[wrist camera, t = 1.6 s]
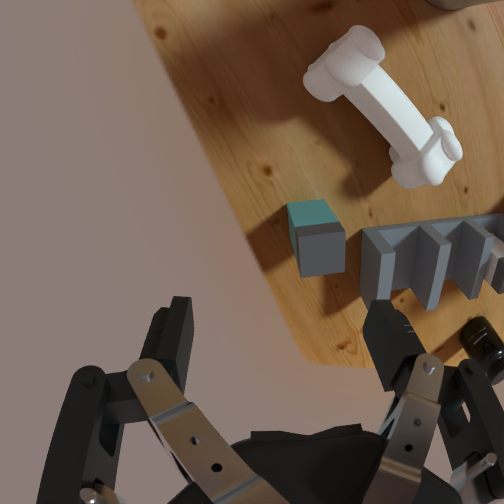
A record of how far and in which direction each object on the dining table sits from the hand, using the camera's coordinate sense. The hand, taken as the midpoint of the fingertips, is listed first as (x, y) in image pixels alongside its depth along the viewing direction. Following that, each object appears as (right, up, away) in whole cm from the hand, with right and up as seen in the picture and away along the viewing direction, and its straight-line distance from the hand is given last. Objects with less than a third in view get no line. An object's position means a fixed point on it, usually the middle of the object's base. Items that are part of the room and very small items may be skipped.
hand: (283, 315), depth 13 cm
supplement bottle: (+39, -11, +30) cm, 50 cm away
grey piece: (+23, +3, +22) cm, 32 cm away
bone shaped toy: (+11, +18, +14) cm, 25 cm away
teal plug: (+5, +6, +19) cm, 21 cm away
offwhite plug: (+30, +3, +20) cm, 37 cm away
